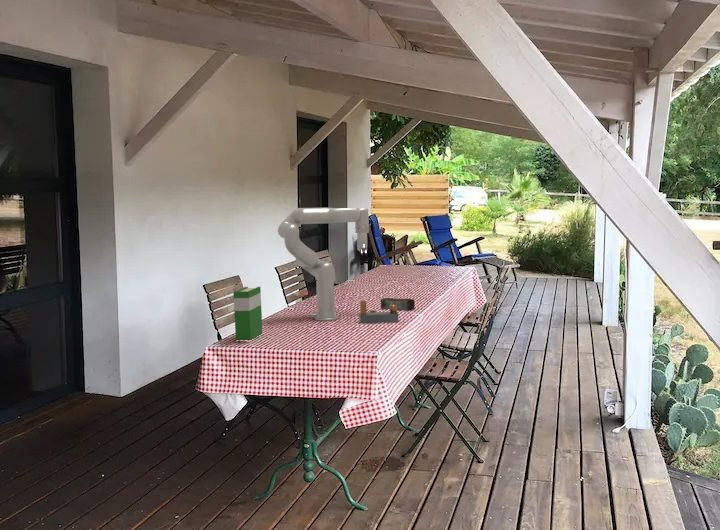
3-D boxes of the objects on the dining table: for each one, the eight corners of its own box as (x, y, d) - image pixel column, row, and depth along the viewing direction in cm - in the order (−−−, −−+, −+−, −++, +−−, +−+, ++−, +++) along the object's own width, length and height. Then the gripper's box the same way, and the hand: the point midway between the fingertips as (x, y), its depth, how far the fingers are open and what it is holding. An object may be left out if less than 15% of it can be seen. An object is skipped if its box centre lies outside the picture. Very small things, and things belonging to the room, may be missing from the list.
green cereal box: (248, 334, 354) (245, 286, 352) (262, 334, 353) (260, 286, 350) (236, 342, 337) (233, 291, 334) (251, 342, 335) (248, 291, 333)
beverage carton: (387, 307, 425) (387, 296, 424) (415, 309, 413) (415, 298, 413) (380, 309, 418) (380, 298, 417) (408, 311, 407) (407, 300, 406)
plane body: (360, 323, 373) (359, 302, 372) (359, 321, 380) (358, 300, 379) (398, 322, 375) (397, 300, 373) (396, 319, 381) (396, 298, 380)
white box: (367, 319, 388) (366, 311, 387) (368, 317, 393) (368, 309, 392) (385, 319, 386) (385, 311, 386) (386, 317, 391) (386, 309, 390)
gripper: (354, 229, 404) (355, 259, 406) (356, 231, 387) (357, 262, 389) (367, 229, 405) (368, 259, 406) (370, 230, 387) (371, 262, 389)
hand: (363, 260), depth 397 cm, fingers open, 9 cm apart
